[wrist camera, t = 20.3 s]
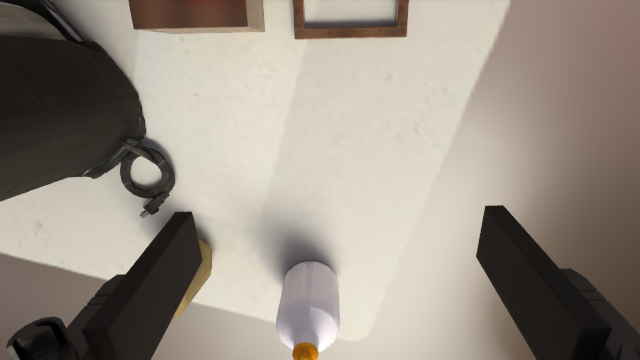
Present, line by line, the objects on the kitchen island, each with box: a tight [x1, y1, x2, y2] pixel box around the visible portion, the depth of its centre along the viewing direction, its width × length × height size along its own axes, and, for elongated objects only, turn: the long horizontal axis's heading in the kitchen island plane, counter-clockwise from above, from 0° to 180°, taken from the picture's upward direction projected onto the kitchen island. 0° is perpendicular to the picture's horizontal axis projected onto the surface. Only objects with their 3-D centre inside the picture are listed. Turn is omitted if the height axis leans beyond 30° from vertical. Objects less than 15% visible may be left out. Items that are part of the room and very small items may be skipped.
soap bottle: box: [276, 261, 340, 360], centre depth 47 cm, size 9×9×25 cm
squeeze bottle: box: [172, 238, 212, 319], centre depth 49 cm, size 8×8×18 cm
